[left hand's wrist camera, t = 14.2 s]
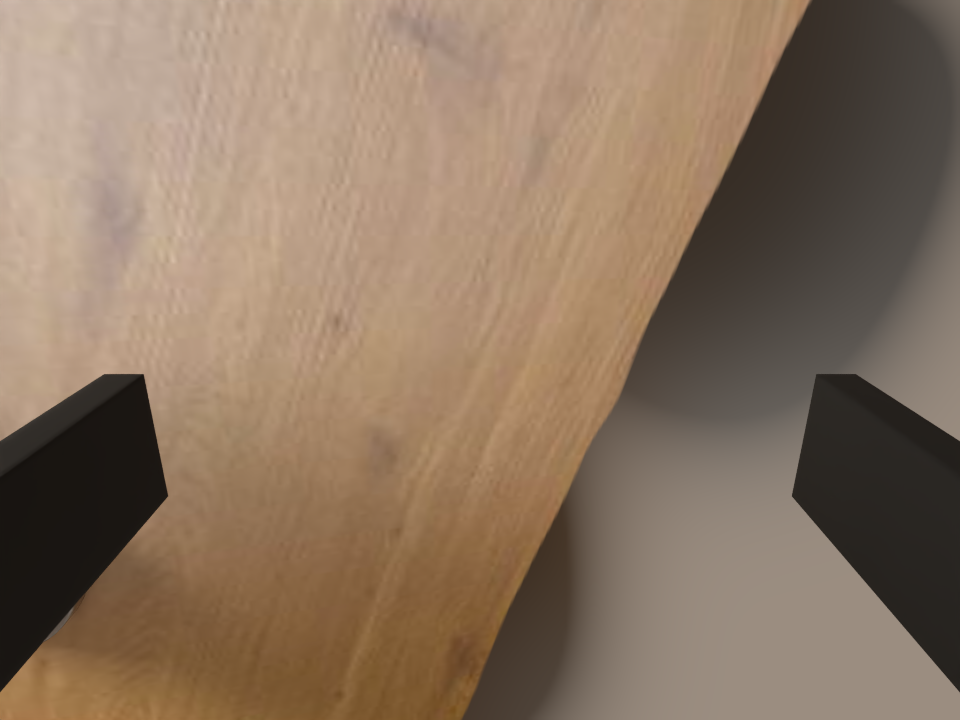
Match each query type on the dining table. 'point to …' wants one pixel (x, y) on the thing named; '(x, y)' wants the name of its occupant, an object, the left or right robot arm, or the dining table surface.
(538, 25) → the dining table surface
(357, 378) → the dining table surface
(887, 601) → the left robot arm
